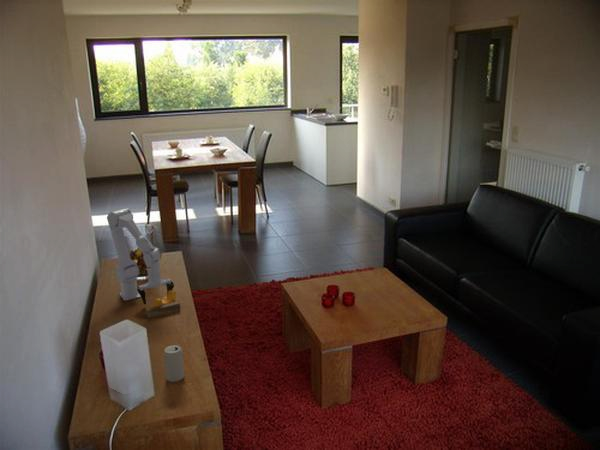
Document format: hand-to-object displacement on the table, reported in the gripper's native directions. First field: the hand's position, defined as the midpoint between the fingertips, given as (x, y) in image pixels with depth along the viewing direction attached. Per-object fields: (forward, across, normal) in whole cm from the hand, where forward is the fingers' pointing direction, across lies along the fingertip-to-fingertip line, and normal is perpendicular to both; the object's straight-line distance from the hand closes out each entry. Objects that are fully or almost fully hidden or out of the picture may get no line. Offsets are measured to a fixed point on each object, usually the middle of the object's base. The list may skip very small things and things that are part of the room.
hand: (156, 300), depth 240 cm
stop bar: (+2, -1, -11) cm, 12 cm away
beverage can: (+1, -15, -64) cm, 66 cm away
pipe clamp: (+2, +2, -5) cm, 6 cm away
